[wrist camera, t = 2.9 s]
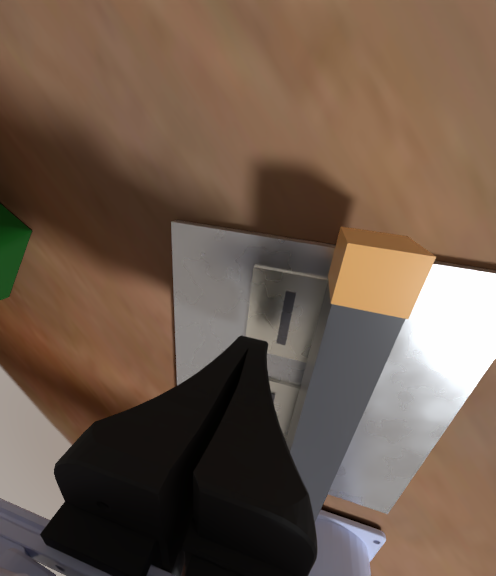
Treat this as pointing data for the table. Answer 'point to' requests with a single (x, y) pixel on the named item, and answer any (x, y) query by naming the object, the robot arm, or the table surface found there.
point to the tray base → (300, 330)
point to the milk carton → (11, 249)
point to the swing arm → (351, 347)
